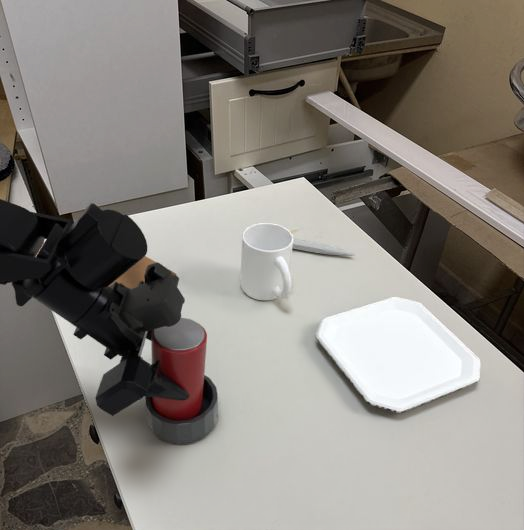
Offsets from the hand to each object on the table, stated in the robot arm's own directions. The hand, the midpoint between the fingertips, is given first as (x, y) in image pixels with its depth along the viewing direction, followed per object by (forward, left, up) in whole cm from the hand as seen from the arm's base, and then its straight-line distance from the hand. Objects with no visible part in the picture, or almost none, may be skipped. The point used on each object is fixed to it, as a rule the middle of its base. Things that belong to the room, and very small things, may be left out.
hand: (191, 377), depth 65 cm
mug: (+15, +25, -8) cm, 30 cm away
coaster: (-9, +31, -8) cm, 34 cm away
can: (-2, 0, -6) cm, 7 cm away
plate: (+32, +8, -8) cm, 34 cm away
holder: (-1, 0, -8) cm, 8 cm away
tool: (+25, +37, -8) cm, 45 cm away
